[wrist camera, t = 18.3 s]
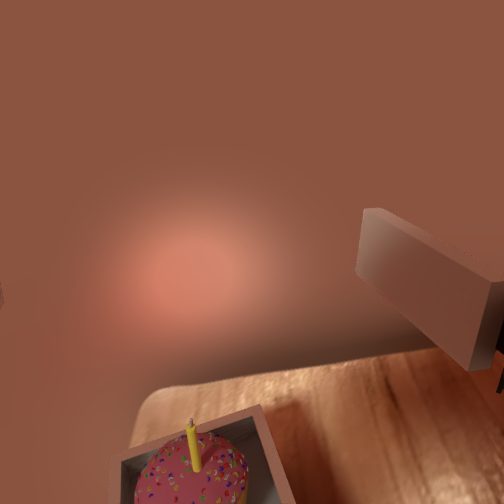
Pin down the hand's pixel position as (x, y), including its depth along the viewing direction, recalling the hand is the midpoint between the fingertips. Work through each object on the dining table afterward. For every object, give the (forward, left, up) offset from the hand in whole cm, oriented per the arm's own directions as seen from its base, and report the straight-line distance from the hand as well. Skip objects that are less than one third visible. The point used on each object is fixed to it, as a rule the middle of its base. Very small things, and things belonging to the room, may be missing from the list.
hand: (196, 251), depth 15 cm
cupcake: (+5, -8, -27) cm, 28 cm away
